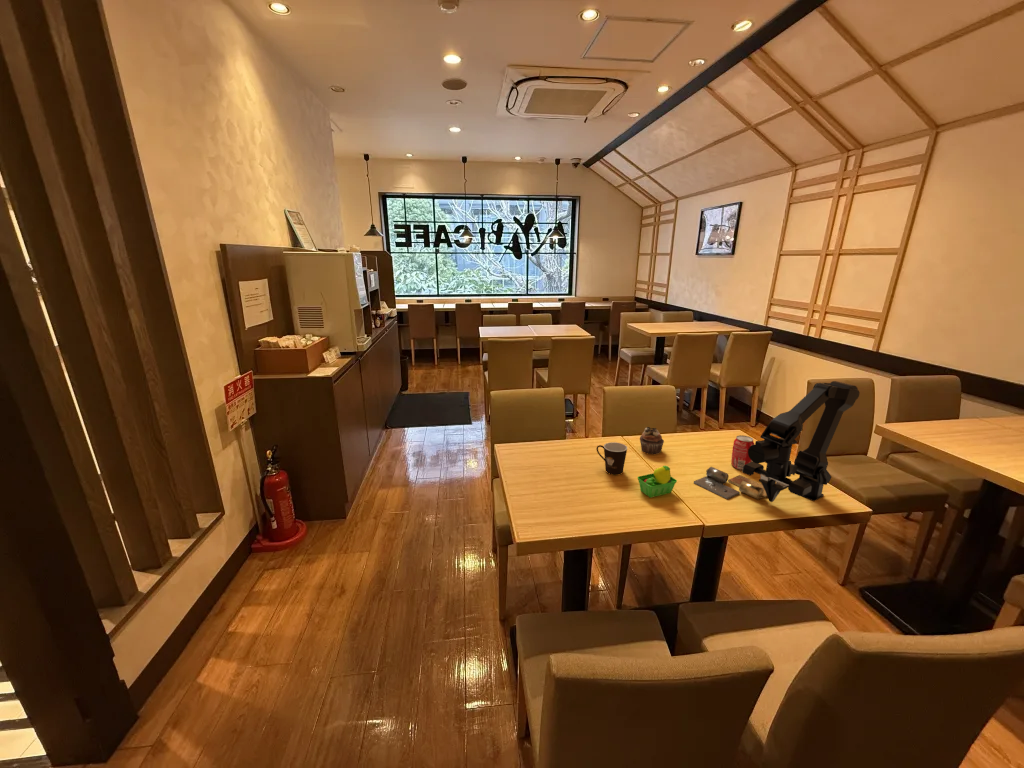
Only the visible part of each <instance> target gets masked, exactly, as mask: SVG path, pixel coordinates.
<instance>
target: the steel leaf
mask: <svg viewBox="0 0 1024 768" xmlns="http://www.w3.org/2000/svg"><path fill="white" fill-rule="evenodd" d="M705 475H706V476H703V477H701V478H698V479H696V480H693V484H695V485H697V486H698V487H701V488H703V489H705V490H706V491H709V492H711V493H713V494H715V495H717V496H719V497H721V498H723V499H726V500H729V499H732V498H734V497H736V496H738V495H740V494H741V492H740V491H739V490H736V489H734V488H732V487H730V486H727V485H725V484H726V483H727V482H728V480H729V473H727V472H725V471H722V470H720V469H719V468H715V467H713V466H710V467H708V468H707V469H706V474H705Z"/></svg>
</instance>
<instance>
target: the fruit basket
mask: <svg viewBox="0 0 1024 768" xmlns="http://www.w3.org/2000/svg"><path fill="white" fill-rule="evenodd" d="M637 480H638V483H639V488H640V492H641V493H643V494H644V495H646V496H648V498H654V497H659V496H664V495H666V494H671V493H672V491H673V489H674V487H675V485H676V483H677V481H678V480H677V479H676V478H674V477H673V476H671V468H670V467H669V465H662V466H660V467H658V468H655V469H654V471H653V473H648V474H644V475H639V476H637Z"/></svg>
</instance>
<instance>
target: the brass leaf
mask: <svg viewBox="0 0 1024 768" xmlns="http://www.w3.org/2000/svg"><path fill="white" fill-rule="evenodd" d="M727 482H728V483H730V484H732V485H735V486H737V487H738V491H739V492H740V493H743V494H745V495H747V496H749V497H752V498H753V499H755V500H761V499H762V498H764V499H765V498H766V499H767V498H768V497H767V494H766V491H765V489H764V487H763V485H762V483H761V482H759V481H755V480H753V479H751V478H748V477H746V476H743V475H740V474H739V475H736V476H733V477H732V478H728V480H727Z"/></svg>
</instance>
